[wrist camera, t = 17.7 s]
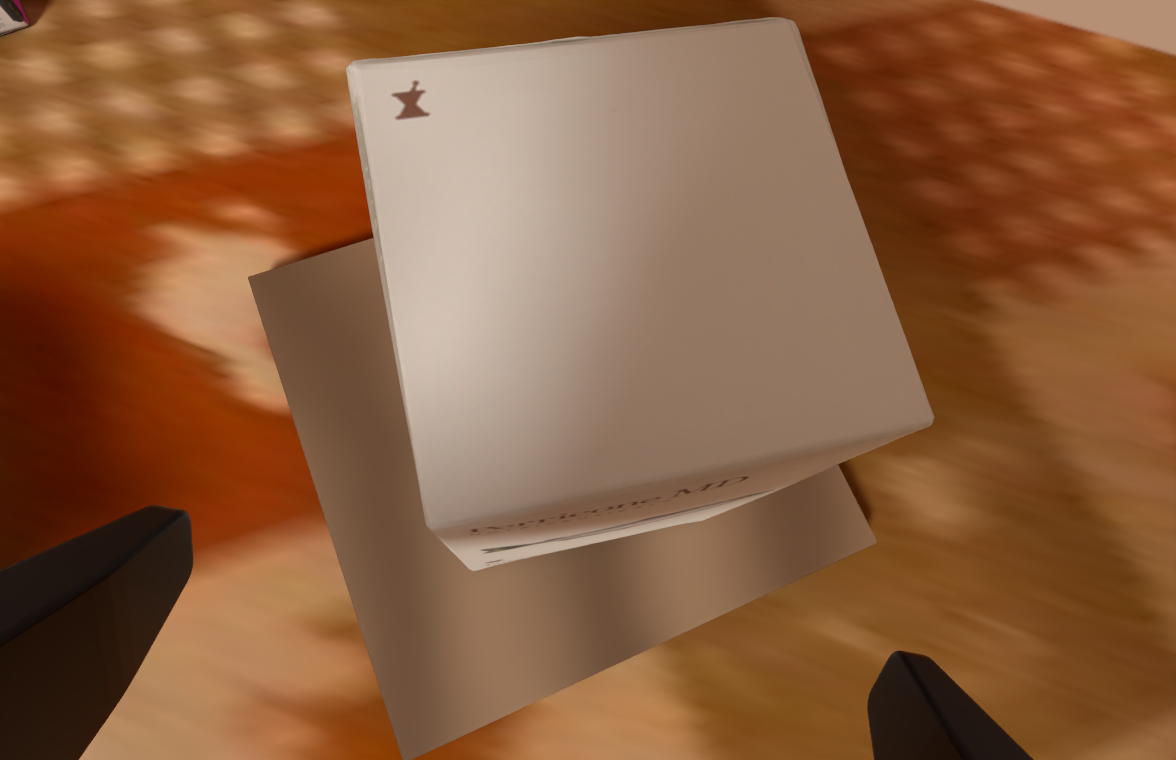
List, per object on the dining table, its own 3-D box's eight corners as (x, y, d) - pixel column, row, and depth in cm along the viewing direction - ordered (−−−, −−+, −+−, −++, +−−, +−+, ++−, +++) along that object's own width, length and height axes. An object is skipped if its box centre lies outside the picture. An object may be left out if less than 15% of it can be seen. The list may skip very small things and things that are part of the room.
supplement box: (465, 578, 21) (398, 544, 9) (428, 338, 23) (332, 38, 11) (711, 527, 22) (954, 433, 10) (654, 302, 24) (798, -5, 12)
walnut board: (409, 755, 20) (404, 762, 19) (258, 290, 24) (247, 277, 23) (862, 544, 23) (877, 542, 22) (668, 160, 27) (674, 144, 26)
